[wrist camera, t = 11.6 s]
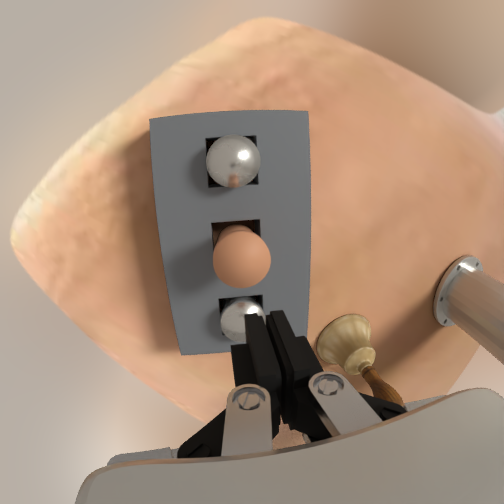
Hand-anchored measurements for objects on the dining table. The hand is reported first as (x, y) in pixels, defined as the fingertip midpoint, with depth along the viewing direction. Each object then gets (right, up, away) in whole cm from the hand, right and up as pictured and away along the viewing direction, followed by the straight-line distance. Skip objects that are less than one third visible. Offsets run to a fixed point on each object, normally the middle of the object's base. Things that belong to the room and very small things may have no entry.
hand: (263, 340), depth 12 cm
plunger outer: (-3, +13, +15) cm, 20 cm away
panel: (-2, +6, +18) cm, 19 cm away
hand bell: (+12, -8, +24) cm, 28 cm away
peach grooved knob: (-2, +5, +14) cm, 15 cm away
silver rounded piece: (-2, -2, +19) cm, 20 cm away
